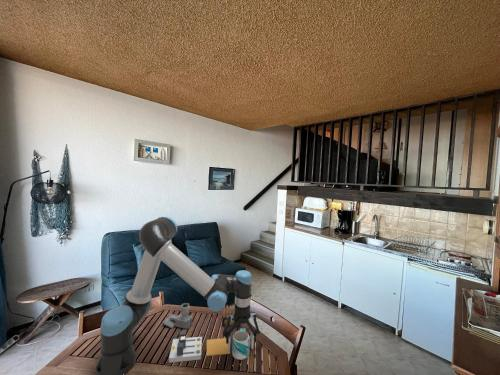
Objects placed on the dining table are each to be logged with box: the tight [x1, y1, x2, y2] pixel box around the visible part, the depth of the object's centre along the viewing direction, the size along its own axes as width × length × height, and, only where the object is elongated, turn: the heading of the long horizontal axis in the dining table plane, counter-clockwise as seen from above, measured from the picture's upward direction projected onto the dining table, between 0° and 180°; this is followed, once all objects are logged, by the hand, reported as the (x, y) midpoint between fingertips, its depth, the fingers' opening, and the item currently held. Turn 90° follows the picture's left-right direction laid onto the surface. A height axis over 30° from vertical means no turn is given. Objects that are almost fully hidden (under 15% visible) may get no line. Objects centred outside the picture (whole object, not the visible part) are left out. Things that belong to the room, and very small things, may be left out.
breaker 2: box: [180, 335, 187, 349], centre depth 107 cm, size 3×3×4 cm
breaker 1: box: [178, 330, 186, 343], centre depth 110 cm, size 3×3×4 cm
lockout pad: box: [206, 337, 231, 357], centre depth 110 cm, size 11×10×1 cm
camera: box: [161, 302, 193, 330], centre depth 126 cm, size 9×12×15 cm
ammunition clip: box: [221, 304, 242, 329], centre depth 126 cm, size 11×2×12 cm, turn 87°
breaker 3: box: [177, 342, 184, 356], centre depth 103 cm, size 3×3×4 cm
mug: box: [231, 327, 251, 361], centre depth 109 cm, size 8×12×8 cm
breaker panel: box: [168, 336, 203, 364], centre depth 107 cm, size 14×12×2 cm
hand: (240, 348), depth 109 cm, fingers open, 11 cm apart
